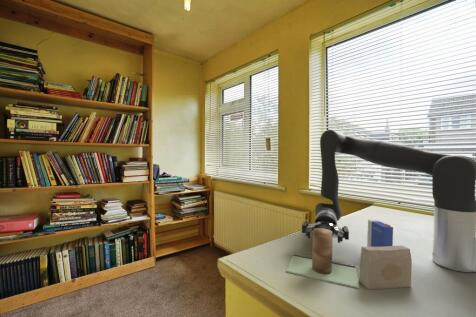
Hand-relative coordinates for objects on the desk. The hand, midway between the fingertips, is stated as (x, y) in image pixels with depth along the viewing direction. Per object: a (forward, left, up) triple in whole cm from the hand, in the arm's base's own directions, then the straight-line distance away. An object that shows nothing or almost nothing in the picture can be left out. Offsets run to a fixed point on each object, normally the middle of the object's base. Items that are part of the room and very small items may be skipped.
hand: (323, 237), depth 68 cm
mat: (0, +5, -8) cm, 9 cm away
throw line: (0, -2, -8) cm, 8 cm away
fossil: (-15, +5, -8) cm, 18 cm away
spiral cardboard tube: (0, +5, -7) cm, 9 cm away
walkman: (-16, -10, -8) cm, 21 cm away
